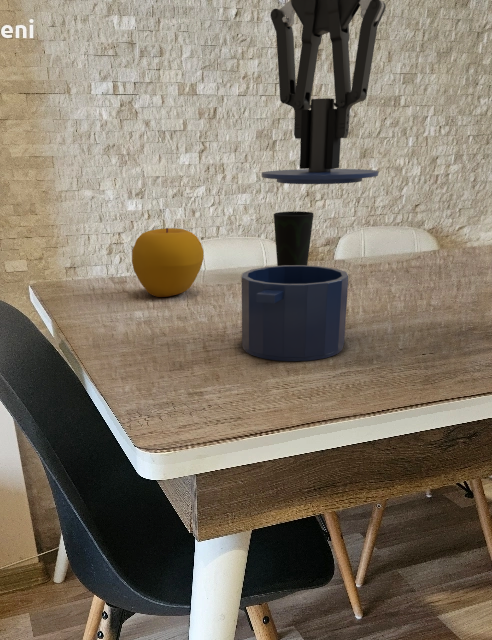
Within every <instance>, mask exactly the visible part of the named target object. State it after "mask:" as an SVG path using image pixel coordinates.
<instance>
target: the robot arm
mask: <svg viewBox="0 0 492 640" xmlns="http://www.w3.org/2000/svg"><path fill="white" fill-rule="evenodd" d="M386 7H387V5H386V3H385V2H384V1H382V0H290V1H288V2H287V3H285V5H283V6H282V7H280V8H273V9H272V10H271V12H270V19H271V22H272V25H273V27H274V31H275V36H276V51H277V54H276V55H277V70H278V71H277V73H278V87H279V100H280V103H282V104H285V105H287V106H289V107H291V108H293V110H294V120H293V121H294V123H293V125H294V127H293V128H294V129H293V135H294V138H295V140H300V147H299V148H300V150H299V169H308V167H309V142H310V116H311V99H312V93H313V87H314V81H315V74H316V68H317V67H316V66H317V61H318V54H319V49H320V45H321V44H322V39H323V36H324V35H326V34H328V33H329V39H330V42H331V50H332V51H331V52H332V53H331V54H332V68H333V85H334V109H329V122H328V142H327V162H326V169H340V157H341V144H342V143H341V140H342V139H347V138H348V136H349V130H350V118H351V117H350V116H351V108H352V107H353V106H354V105H357V104H359V103H361V102H364V101H365V100H366V99H367V97H368V90H369V83H370V77H371V71H372V65H373V59H374V53H375V45H376V38H377V33H378V27H379V25H380V22H381V20H382V17H383V16H384V13H385V11H386ZM360 8H361V10H360V18H361V19H362V20H361V24H360V28H359V35H358V43H357V49H356V56H355V62H354V69H353V76H352V80H351V65H350V64H351V63H350V47H349V42H350V23H351V22H352V21H353V18H354V17H355V15H356V14H357V12H358V10H359V9H360ZM295 15H297V19H298V20H299V22H300V23H301V25H302V29H301V38H300V39H301V48H300V49H301V50H300V55H299V62H298V63H299V64H298V69H297V75H296V61H295V60H296V59H295V40H294V39H295V38H294V30H293V26H294V25H295Z"/></svg>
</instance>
